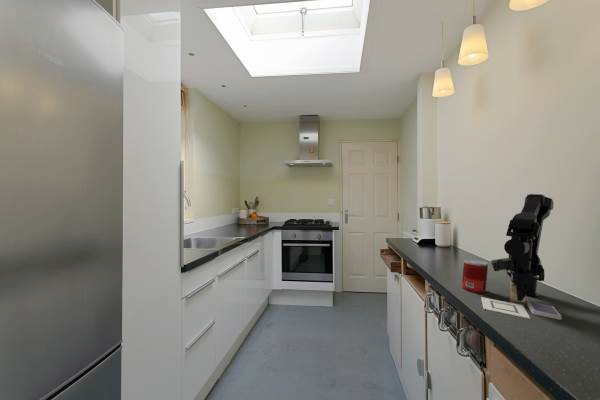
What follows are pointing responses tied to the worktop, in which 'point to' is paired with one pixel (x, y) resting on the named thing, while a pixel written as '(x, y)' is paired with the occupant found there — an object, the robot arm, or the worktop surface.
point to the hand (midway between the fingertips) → (517, 297)
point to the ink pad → (543, 310)
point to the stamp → (515, 295)
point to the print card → (504, 307)
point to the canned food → (474, 276)
